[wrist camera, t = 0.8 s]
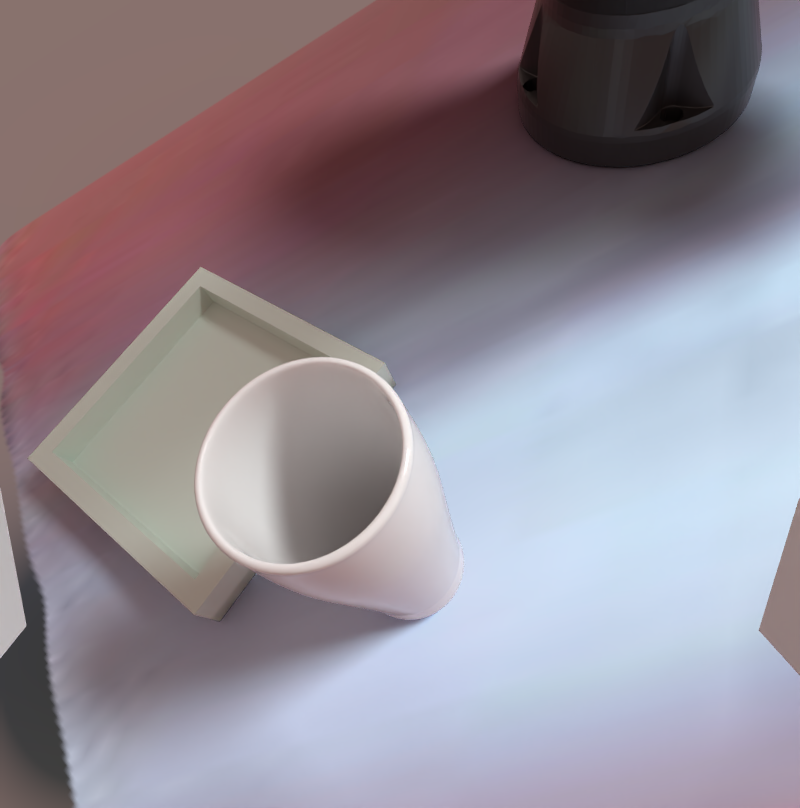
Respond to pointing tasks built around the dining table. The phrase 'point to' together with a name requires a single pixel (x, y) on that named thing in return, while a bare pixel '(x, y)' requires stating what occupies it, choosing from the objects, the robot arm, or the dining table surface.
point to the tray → (176, 429)
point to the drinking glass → (329, 490)
